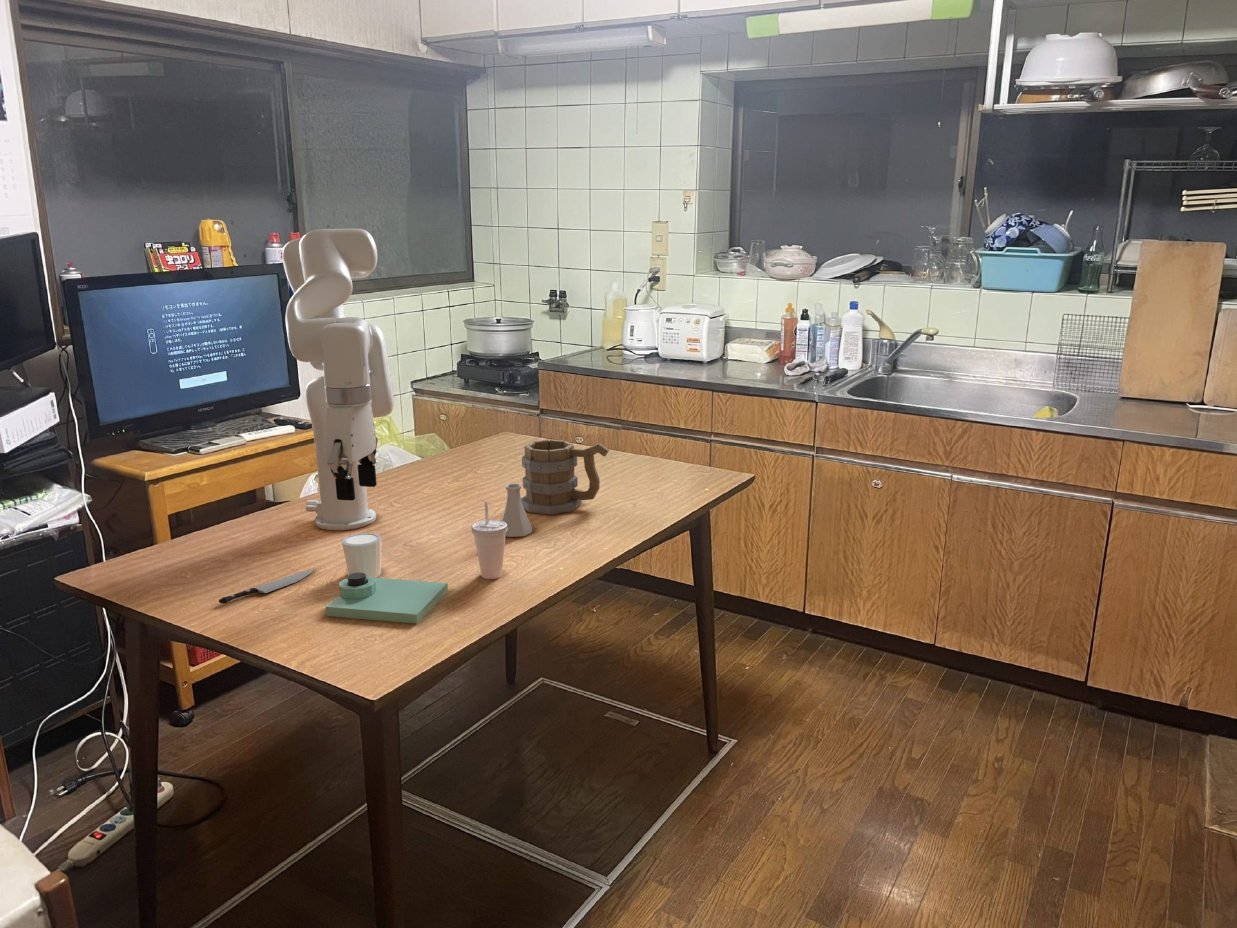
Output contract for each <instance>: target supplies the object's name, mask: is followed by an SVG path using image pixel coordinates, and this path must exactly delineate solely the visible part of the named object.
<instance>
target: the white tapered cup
mask: <svg viewBox="0 0 1237 928" xmlns="http://www.w3.org/2000/svg"><path fill="white" fill-rule="evenodd" d="M341 544H342V550H343V554H344V559H345V564H346V569H347V570H346V571H347V576H349V575H350V574H353V573H365V574H366V576H371V577H375V578H379V576H380V575H381V572H382V536H381V535H379V534H377V533H371V532H363V533H355V534H352V535H351V534H350V535H348V536H346V537H344V538H343V539H342V541H341Z"/></svg>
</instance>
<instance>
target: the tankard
mask: <svg viewBox="0 0 1237 928" xmlns="http://www.w3.org/2000/svg"><path fill="white" fill-rule="evenodd" d="M523 448H524V455H522V456H521V467H522V468H523V469H524V471H525V472H524V477H523V478H522V488H523V489H524V490H525V496H523V497H521V501H522V504H523V507H524V510H525V511H527V512H528V513H531V514H541V515H550V516H551V515H557V514H563V513H570V512H573V511H574V510H575V509H577V508H578V507H579V506H580V505H582V501H590V500H591V501H592V500H594V499H595V498H596V496H597V494H598V492H599V490H600V477H599V474H598V471H597V468H596V464H595V455H597V454H599V455H601V456H602V457H606V456H607V455H608V453H609V452H610V449H609V448H608V447H606V446H605V445H603V444H601V442H598V443H596V444H594V445H591V446H589V447H586V448H584V449H583V448H576V447H575V445H574V444H573V443H571V442H569V441H567V440H562V439H542V440H534V441H531V442H529V443H527V444H525V445H524V447H523ZM578 458H583V465H584V470H585V473H586V475H587V477H588V481H589V482H588V483H589V484H588V485H589V486H588V489H587V490H582V489H578V488H577V487H578V476H577V475H575V468H576V467H577V466H578Z"/></svg>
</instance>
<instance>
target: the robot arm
mask: <svg viewBox="0 0 1237 928" xmlns="http://www.w3.org/2000/svg"><path fill="white" fill-rule="evenodd" d="M281 258H282V265H283V270H284V272H285V273H284V274H285V276H286V279H287V281H288V284H289V287H290V288H291V290H292V292H293V295H292V296H291V298H290V299H289V301H288V303H287V306H286V309H285V318H284V319H285V328H286V333H287V334H286V336H287V342H288V346H289V350H290V353H291V355H292V356H293V358H294V359H295V360H297V361H299V362H303V363H310V365H311V367H312V368H313V369H315V370H317V371H323V375H322V376H318V377H315V378H313V379H311V380H310V381H309V382H308V383H307V385H306V386H305V391H304V396H305V403H306V406H307V407H306V408H307V412H308V414H309V419H310V423H311V427H312V434H313V441H314V448H315V449H314V451H315V457H316V467H317V468H316V470H317V478H318V487H319V497H320V498H319V499H320V500H316V499H308V500H307V501H306V503H305V505H306V507H305V511H306V512H310V513H314V512H315V513H316V517H314V524H315V526H316V527H317V528H319V529H322V530H328V531H347V530H354V529H359V528H364V527H366V526H369V525H370V524H372V523H374V522H375V521H376V520H377V514H376V511H375V510H373V509H371V508H369V505H368V504H369V503H368V493H367V492H368V491H367V488H375V487H377V485H378V484H377V471H376V464H377V458H376V455H377V447H378V442H379V440H378V437H377V436H376V427H375V419H376V418H377V419H378V418H383V417H386V416H388V415H390V414H391V413H392V412H393V409H394V406H395V399H394V398H395V395H394V389H393V388H394V387H393V382H392V375H391V369H390V362H389V354H388V349H387V343H386V338H385V335H384V333H383V331H382V330H381V328H380V327H379V326H378V325H376V324H374V323H370V322H369V323H368V322H367V321H366V320H365V319H363V318H361V317H357V316H346V315H345V306H344V304H345V303H347V301H348V300H349V299H350V298H351V296H352V293H353V291H354V288H353V286H354V285H353V280H352V279H364V278H367V277H369V276H370V275H371V274H372V273H373V272H374V271H375V269H376V268H377V265H378V264H377V263H378V249H377V245H376V242H375V239H374V237H373V236H372V234H371V233H370V232H369V231H368V230H366V229H363V228H318V229H313V230H310V231H308V232H306V233H305V234H304V235H303V236H302V237H301V238H296V239H293V240H290V241H288V242H286V243H285V244H284V246H283V248H282V252H281Z"/></svg>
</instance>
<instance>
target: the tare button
mask: <svg viewBox="0 0 1237 928" xmlns="http://www.w3.org/2000/svg"><path fill="white" fill-rule="evenodd" d="M347 578H348V586H353V587H356V586H362V585H365V584H367V581H366V574H365V573H353V574H350V575H347Z"/></svg>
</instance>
